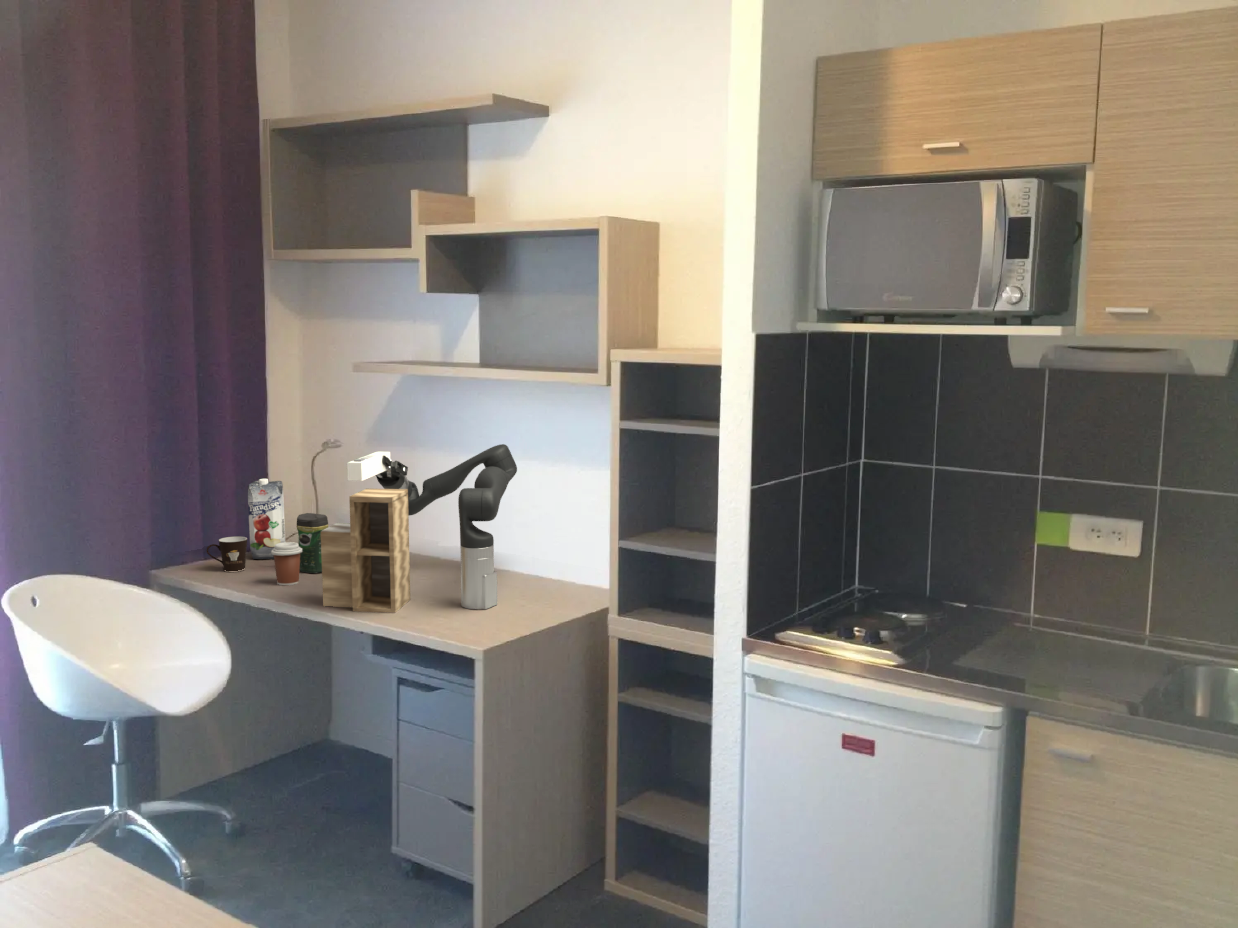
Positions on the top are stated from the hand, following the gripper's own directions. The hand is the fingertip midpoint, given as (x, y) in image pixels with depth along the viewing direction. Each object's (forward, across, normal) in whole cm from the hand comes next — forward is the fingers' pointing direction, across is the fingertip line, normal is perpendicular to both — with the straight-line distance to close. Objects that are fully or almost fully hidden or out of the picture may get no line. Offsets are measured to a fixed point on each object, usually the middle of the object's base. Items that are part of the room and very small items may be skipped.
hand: (375, 458), depth 313 cm
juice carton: (-55, -53, +15) cm, 77 cm away
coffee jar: (-40, -30, +23) cm, 55 cm away
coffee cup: (-26, -31, +31) cm, 51 cm away
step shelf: (-8, +1, +41) cm, 42 cm away
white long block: (+2, 0, +6) cm, 6 cm away
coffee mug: (-38, -57, +24) cm, 73 cm away
